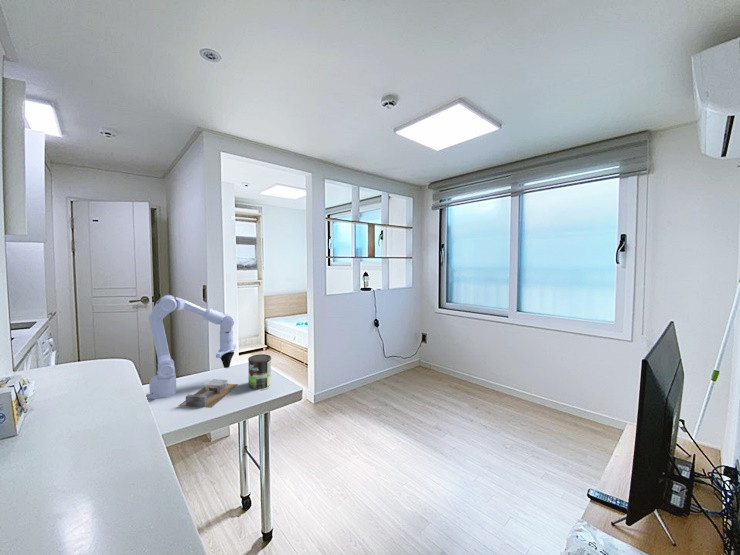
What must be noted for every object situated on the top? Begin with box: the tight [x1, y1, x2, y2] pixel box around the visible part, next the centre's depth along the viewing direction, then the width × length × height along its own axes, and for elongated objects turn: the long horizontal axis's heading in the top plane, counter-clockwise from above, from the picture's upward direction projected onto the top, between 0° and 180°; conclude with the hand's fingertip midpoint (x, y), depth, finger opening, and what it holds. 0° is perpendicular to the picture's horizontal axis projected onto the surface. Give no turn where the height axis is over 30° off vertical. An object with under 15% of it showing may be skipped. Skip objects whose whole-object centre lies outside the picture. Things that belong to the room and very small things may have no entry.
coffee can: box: [247, 353, 272, 391], centre depth 144 cm, size 10×10×14 cm
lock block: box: [204, 379, 229, 393], centre depth 138 cm, size 7×6×3 cm
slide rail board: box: [178, 383, 239, 409], centre depth 133 cm, size 14×22×5 cm, turn 176°
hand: (226, 367), depth 146 cm, fingers closed
